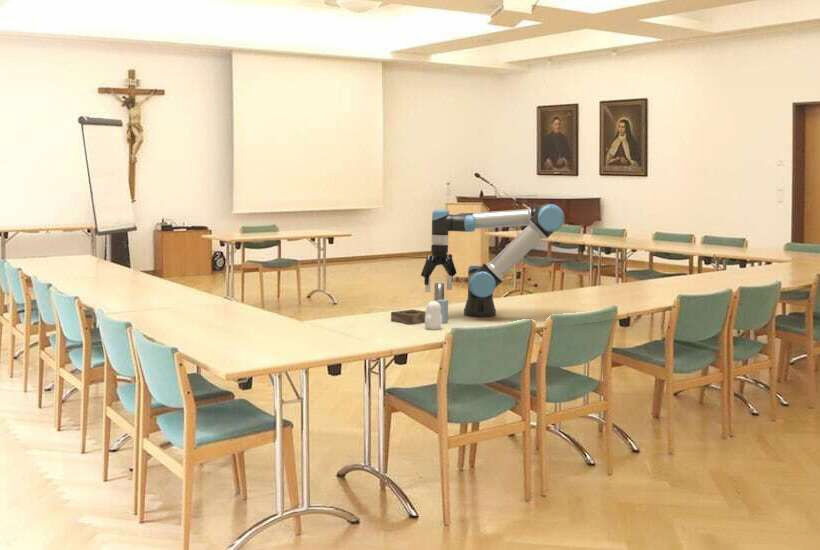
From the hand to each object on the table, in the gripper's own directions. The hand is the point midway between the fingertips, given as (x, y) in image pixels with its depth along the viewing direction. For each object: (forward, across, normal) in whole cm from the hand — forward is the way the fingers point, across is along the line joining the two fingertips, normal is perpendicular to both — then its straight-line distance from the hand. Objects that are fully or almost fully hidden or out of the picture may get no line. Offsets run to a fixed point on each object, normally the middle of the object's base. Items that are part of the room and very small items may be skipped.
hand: (438, 290), depth 405 cm
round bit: (+13, 0, 0) cm, 13 cm away
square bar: (+13, +7, +9) cm, 17 cm away
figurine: (+13, +20, +18) cm, 30 cm away
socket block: (+13, +15, -2) cm, 20 cm away
